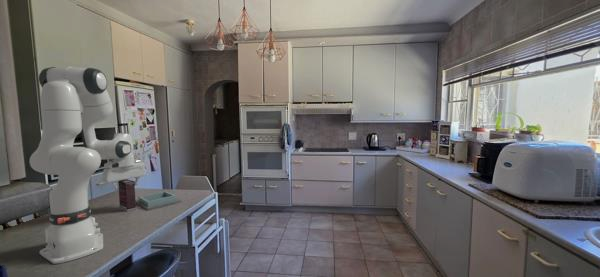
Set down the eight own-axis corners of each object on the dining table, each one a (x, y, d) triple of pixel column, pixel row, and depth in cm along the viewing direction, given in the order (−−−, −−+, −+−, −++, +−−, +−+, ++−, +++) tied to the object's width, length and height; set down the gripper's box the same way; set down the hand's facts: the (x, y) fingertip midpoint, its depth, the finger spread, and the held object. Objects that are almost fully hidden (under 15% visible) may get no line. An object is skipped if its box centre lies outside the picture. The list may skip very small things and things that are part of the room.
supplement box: (136, 208, 142) (134, 180, 141) (127, 211, 138) (124, 182, 137) (129, 206, 146) (127, 178, 145) (119, 208, 142) (117, 180, 141)
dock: (181, 202, 152) (180, 196, 152) (147, 210, 139) (147, 203, 138) (166, 195, 167) (165, 189, 166) (134, 202, 153) (134, 196, 153)
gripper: (141, 159, 151) (143, 182, 152) (100, 164, 133) (102, 190, 134) (147, 159, 147) (149, 183, 148) (105, 165, 130) (107, 192, 131)
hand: (126, 187), depth 141 cm, fingers open, 8 cm apart
